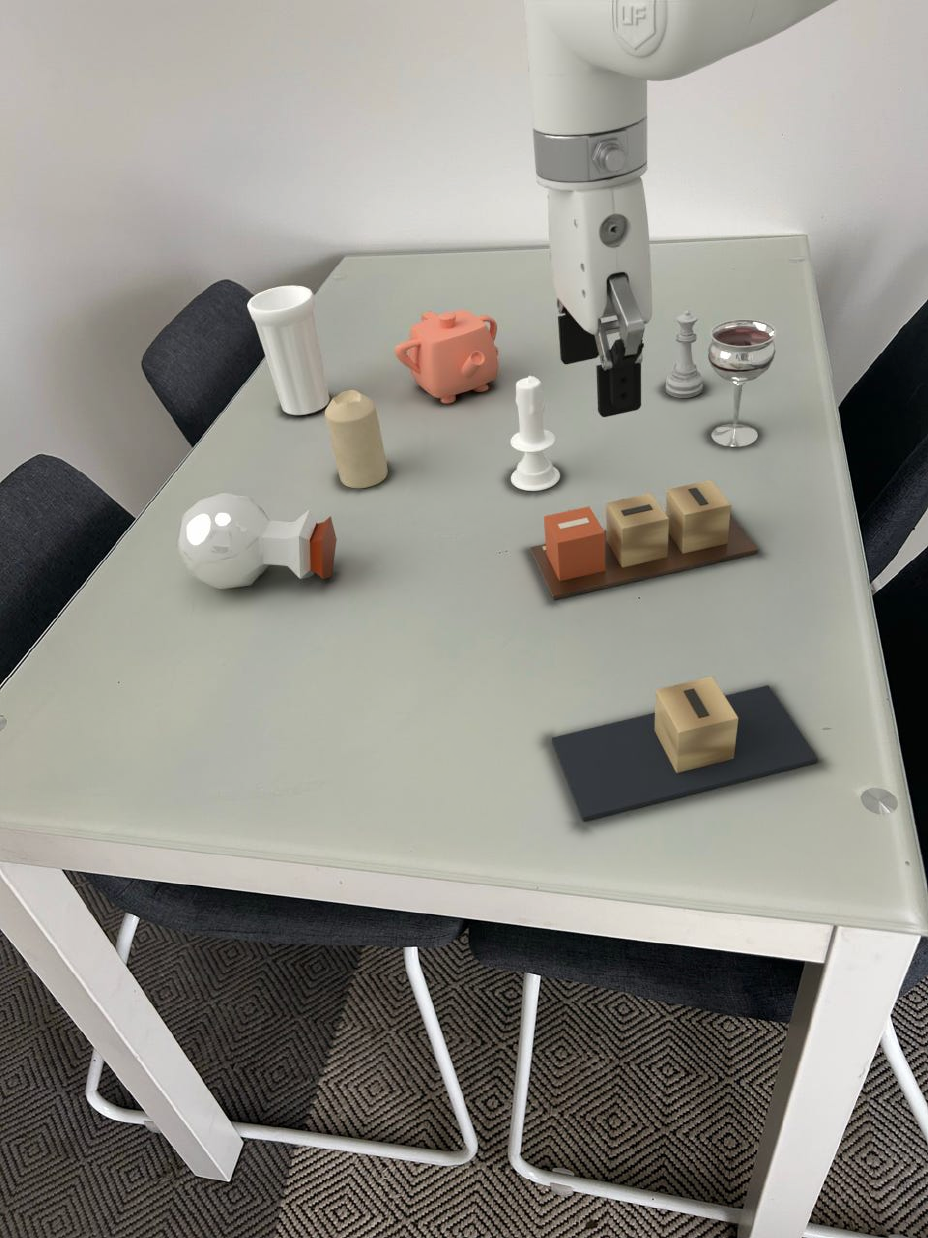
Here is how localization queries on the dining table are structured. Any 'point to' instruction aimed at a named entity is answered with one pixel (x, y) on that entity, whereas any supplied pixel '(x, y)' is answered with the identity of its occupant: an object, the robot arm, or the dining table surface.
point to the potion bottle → (250, 542)
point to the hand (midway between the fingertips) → (598, 384)
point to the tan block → (695, 724)
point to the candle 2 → (532, 439)
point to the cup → (291, 347)
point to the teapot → (451, 353)
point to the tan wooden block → (697, 516)
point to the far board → (643, 564)
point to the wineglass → (740, 367)
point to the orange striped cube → (575, 543)
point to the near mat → (642, 773)
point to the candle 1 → (356, 439)
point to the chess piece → (685, 362)
